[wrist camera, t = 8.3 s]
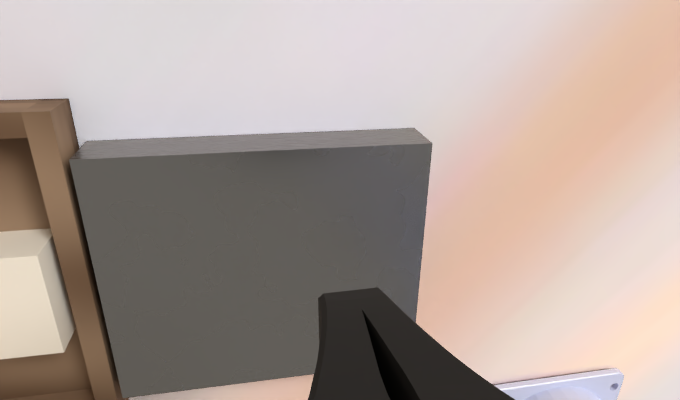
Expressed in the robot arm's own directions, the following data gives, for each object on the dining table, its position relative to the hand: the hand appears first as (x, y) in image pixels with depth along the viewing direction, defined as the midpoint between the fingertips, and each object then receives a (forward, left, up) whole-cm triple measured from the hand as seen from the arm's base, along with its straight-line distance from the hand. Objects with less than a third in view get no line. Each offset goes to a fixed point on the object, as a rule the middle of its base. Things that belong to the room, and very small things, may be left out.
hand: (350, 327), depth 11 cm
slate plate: (-3, +2, -9) cm, 10 cm away
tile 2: (-3, +11, -9) cm, 14 cm away
